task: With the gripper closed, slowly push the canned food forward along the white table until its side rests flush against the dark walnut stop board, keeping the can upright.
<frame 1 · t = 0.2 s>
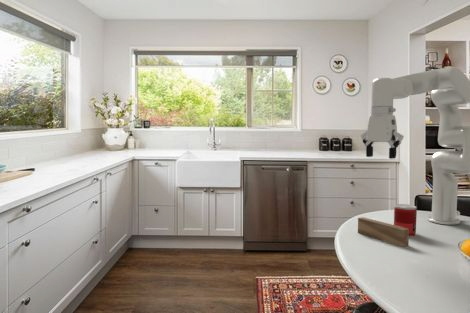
hand: (380, 157, 137), 31 cm above the table, fingers open, 9 cm apart
walnut board: (381, 238, 137), on the table
canned food: (404, 233, 144), on the table
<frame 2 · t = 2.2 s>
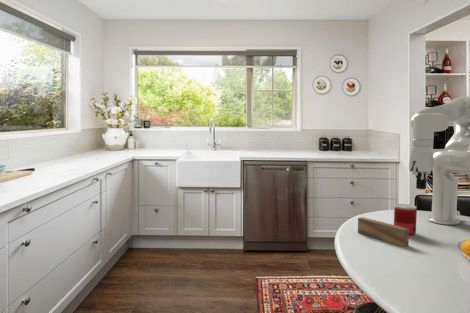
hand: (421, 188, 148), 17 cm above the table, fingers closed
nothing on the table moved.
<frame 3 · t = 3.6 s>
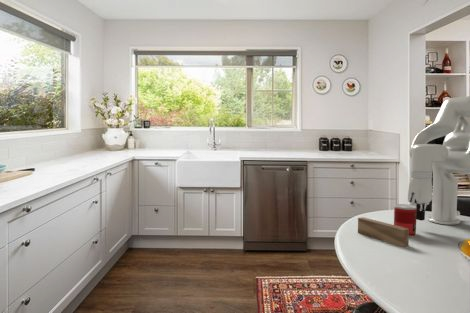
hand: (419, 219, 149), 4 cm above the table, fingers closed
nothing on the table moved.
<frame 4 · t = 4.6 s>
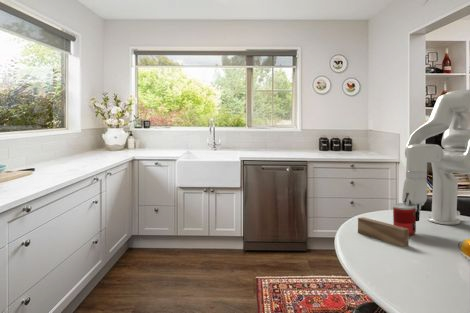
hand: (414, 220, 147), 4 cm above the table, fingers closed
canned food: (404, 232, 144), on the table, touching gripper
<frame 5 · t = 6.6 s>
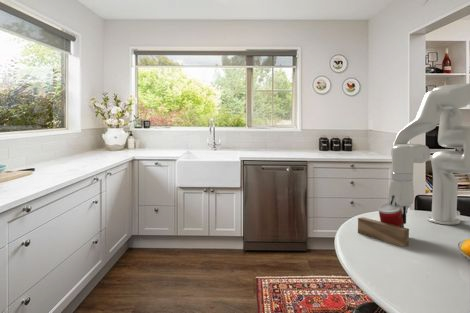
hand: (401, 223, 142), 4 cm above the table, fingers closed
canned food: (393, 233, 141), point 1 cm above the table, touching gripper, walnut board
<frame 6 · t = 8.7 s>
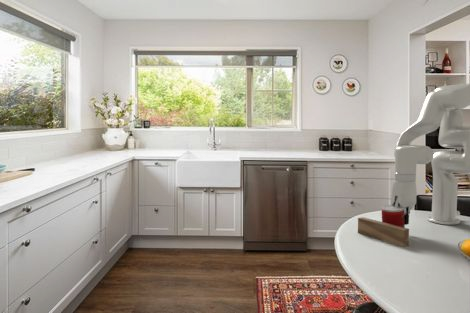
hand: (403, 223, 143), 4 cm above the table, fingers closed
canned food: (393, 235, 141), on the table, touching gripper
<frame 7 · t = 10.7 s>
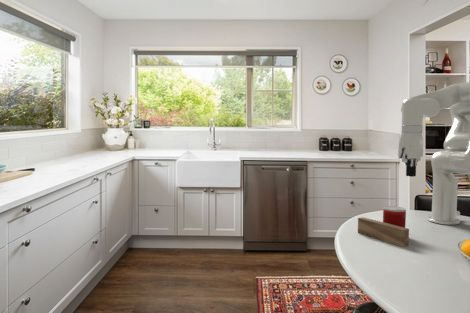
hand: (410, 176, 145), 23 cm above the table, fingers closed
canned food: (393, 236, 141), on the table
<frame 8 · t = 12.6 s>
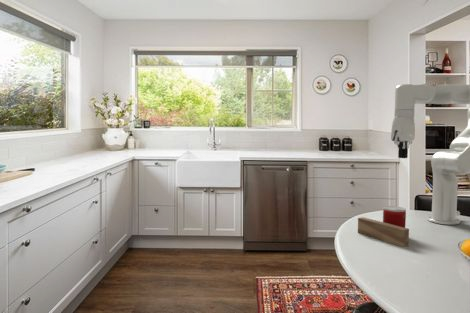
hand: (402, 157, 153), 29 cm above the table, fingers closed
nothing on the table moved.
at the end: canned food 0.6 cm from the target spot on the table beside the walnut board, on the table; canned food tilted 0° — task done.
